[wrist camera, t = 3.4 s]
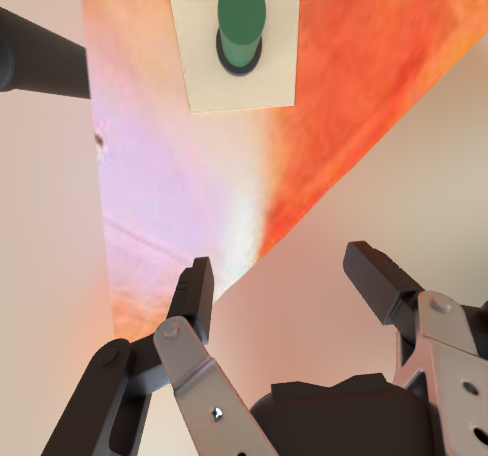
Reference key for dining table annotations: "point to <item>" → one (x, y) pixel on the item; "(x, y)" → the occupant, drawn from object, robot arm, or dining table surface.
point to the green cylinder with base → (240, 34)
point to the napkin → (217, 78)
